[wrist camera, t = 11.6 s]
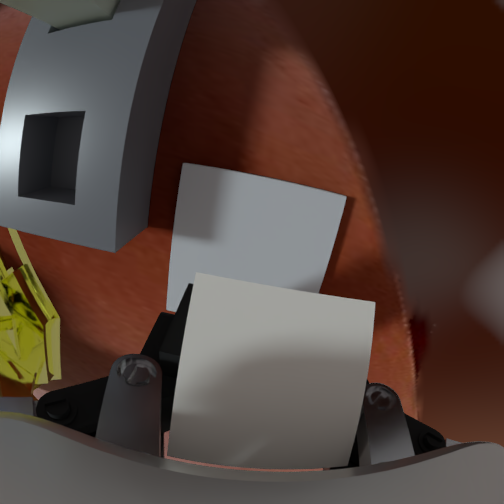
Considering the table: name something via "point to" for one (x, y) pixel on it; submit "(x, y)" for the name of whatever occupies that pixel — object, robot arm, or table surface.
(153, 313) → the table surface
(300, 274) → the mat
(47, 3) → the sage plug
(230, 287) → the white plug
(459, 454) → the robot arm
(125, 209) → the plate
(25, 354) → the crystal
